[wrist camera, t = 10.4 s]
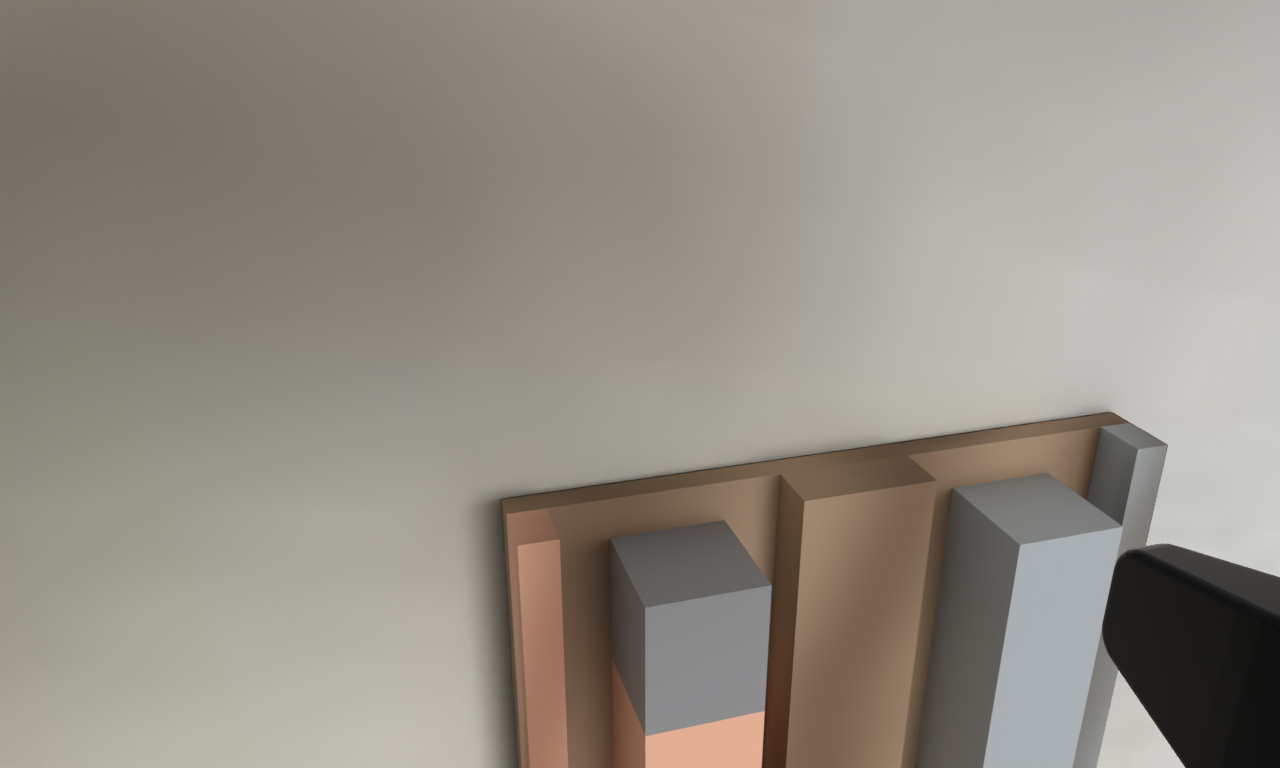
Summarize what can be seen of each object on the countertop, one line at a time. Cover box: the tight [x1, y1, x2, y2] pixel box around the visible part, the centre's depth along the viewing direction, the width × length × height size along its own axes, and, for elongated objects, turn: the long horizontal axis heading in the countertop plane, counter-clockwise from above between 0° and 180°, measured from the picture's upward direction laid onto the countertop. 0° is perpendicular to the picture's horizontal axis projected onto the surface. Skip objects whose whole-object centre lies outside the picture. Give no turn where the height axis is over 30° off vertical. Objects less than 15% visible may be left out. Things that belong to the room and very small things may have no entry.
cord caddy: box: [501, 412, 1168, 768], centre depth 24 cm, size 15×13×2 cm
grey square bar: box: [915, 473, 1123, 768], centre depth 25 cm, size 11×2×2 cm, turn 0°
